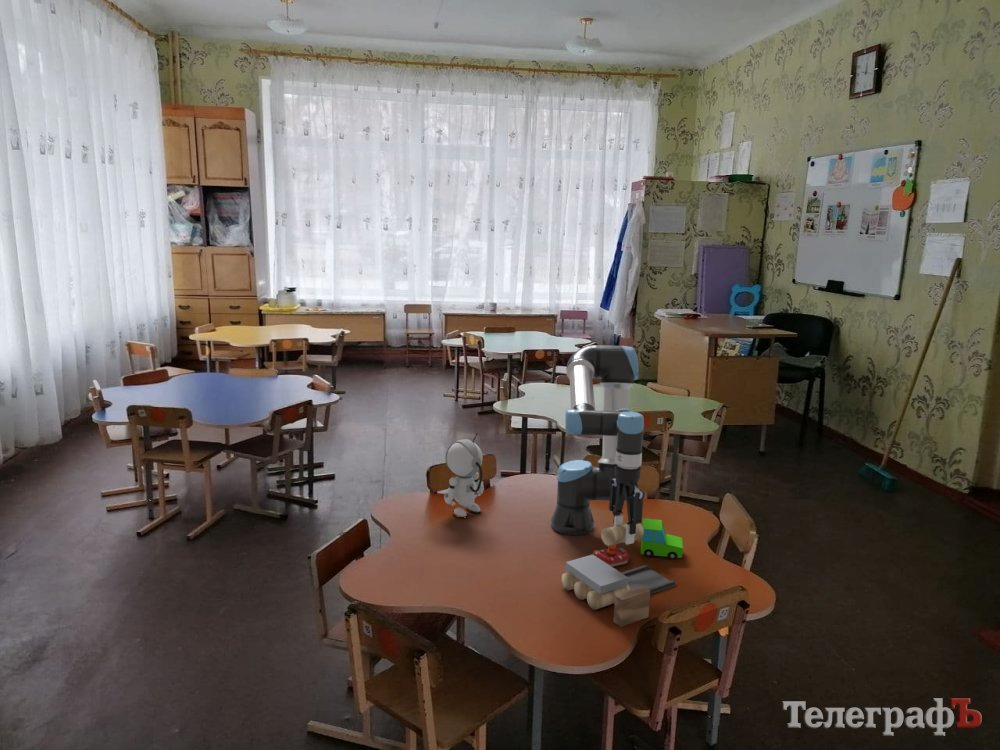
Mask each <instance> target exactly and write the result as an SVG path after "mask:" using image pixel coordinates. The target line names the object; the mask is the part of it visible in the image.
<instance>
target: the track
mask: <svg viewBox="0 0 1000 750" xmlns="http://www.w3.org/2000/svg"><path fill="white" fill-rule="evenodd" d="M621 573H622V574H624V575H625V576H627V577H628V586H625V587H622V588H619V589H616V590H613V591H610V592H607V593H604V594H601V595H600V594H599V593H597V592H596V591H594V590H593V589H592V588H590V587H589V586H587V585H586V584H585V583H583V582H582V581H580V580H579V579H578V578H576V577H575V576H573V575H572V574H571V573H569V572H568V571H566V572H564V573H562V575H561V584H562V586H563V588H564V589H565V590H567V591H571V590H573V592H574V594H575V596H576V598H577V599H579V600H581V601H583V600H585V599H586V601H587V604H588V606H589V607H590V608H591V609H592V610H593V611H595V610H599V609H602V608H605V607H607V606H611V605H614V607H613V608H614V609H613V623H614V624H616V625H617V626H618V627H620V628H622V627H625V626H628V625H631V624H633V623H636V622H639V621H641V619H642V620H644V619H647V618H650V617H649V613H650V601H651V595H654V594H656V592H657V593H659V592H658V591H660V592H662V591H665V590H668V589H671V588H673V587H676V586H677V584H676V581H675V580H673V579H671V580H669V579H668V578H667V577H664V576H663V575H661V574H660V573H659V572H656V571H655V570H653V569H651V568H650V564H644V565H641V566H638V567H635V568H633V569H629V570H625V571H623V572H621ZM653 593H654V594H653ZM650 594H651V595H650Z"/></svg>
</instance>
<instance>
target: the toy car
mask: <svg viewBox="0 0 1000 750" xmlns="http://www.w3.org/2000/svg"><path fill="white" fill-rule="evenodd" d="M641 525H642V526H643V529H644V535H643V537H642V538H640V540H641V541H640V554H641V555H643V556H644V557H645V558H649V559H650V558H652V557H653V556H657V557H667V559H669V560H670V561H675V560H677V559H679V558H680V559H682V558H683V554H684V546H683V545H684V544H683V543H684V540H683V538H682V537H681V536H677V535H673V534H668V533H667V532H666V530H665V527H664V524H663V520H662V519H653V518H652V519H651V518H646V517H645V518H643V517H642V523H641Z"/></svg>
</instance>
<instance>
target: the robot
mask: <svg viewBox="0 0 1000 750" xmlns="http://www.w3.org/2000/svg"><path fill="white" fill-rule="evenodd" d="M477 435H479V432H476V433H475V435H474V437H473V439H472V440H471V439H465V438H464V439H459V440H456V441H455V442H453V443H452V444H450V446H448V448H447V450H446V453H445V465H446V466H447V467H448V468H449V470H450V471H452V473H453V474H455V475H456V476H453V477H451V478H450V479H449V481H448V482H449V484H448V485H449V487H448V488H447V489H446V491H445V492H444V494H443V498H444V499H443V500H444V502H445V503H446V504H447V505H450V506H453V507H454V506H456V504H457V503H458V504H459V505H460V506H462V507H456V508H455V509H454V510H453V511H454V513H455V514H457V515H459V516H463V517H466V516H467V517H468V514H467V512H466V510H467V509H468V510H470V511H472V512H476V513H475V514H480V513H479V512H481V513H482V510H481V508H480V505H478V503H475V499H476V498H477V497H480V496H481V495H482V494H483V492H484V484H483V483H482V480H483V468H482V465H483V451H482V450H481V448H480V447H479V446H478V445H477V444H476V443H475V440H476V438H477ZM453 500H455V501H456V502H457V503H456V502H455V501H453ZM463 507H464V508H465V509H466V508H467V509H466V510H465V509H464V508H463ZM468 510H467V511H468ZM472 512H471V513H472Z"/></svg>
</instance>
